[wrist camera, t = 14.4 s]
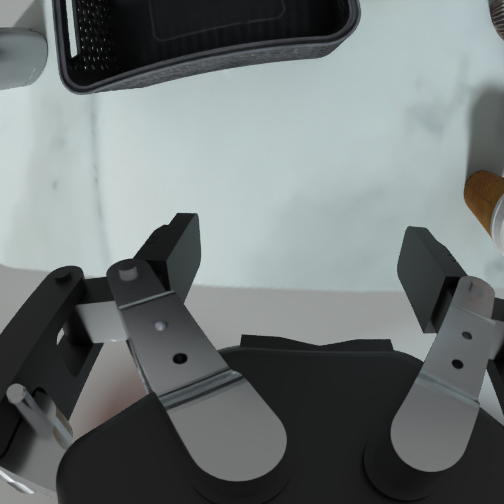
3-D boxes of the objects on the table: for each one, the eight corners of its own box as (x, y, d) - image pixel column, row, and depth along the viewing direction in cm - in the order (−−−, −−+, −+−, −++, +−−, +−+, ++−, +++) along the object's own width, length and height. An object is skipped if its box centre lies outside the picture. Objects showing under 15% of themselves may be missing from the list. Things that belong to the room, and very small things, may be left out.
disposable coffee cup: (512, 193, 36) (558, 227, 26) (473, 233, 40) (512, 276, 30) (485, 146, 34) (536, 170, 24) (443, 189, 38) (485, 226, 28)
